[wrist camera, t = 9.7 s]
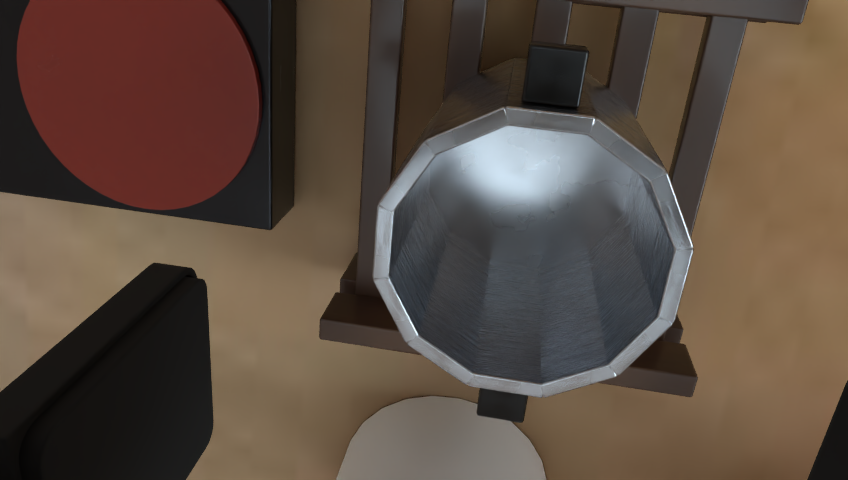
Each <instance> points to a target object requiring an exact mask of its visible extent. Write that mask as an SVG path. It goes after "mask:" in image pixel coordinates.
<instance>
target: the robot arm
mask: <svg viewBox="0 0 848 480" xmlns="http://www.w3.org/2000/svg"><path fill="white" fill-rule="evenodd" d="M212 430H213V403H212V382H211V361H210V340H209V319H208V299H207V286H206V283H205V281H204V280H203V279H198V278H197V276H196V273H195V271H194V270H193V269H192V268H188V267H181V266H174V265H167V264H160V263H153V264H151V265H150V266H148V267H147V268H146V269H145V270H144V271H142V272H141V273H140V274H139V275H138V276H137V277H135V278H134V279H133V280H132V281H131V282H130V283H128V284H127V285H126V286H125V287H124V288H122V289H121V290H120V291H119V292H118V293H117V294H115V295H114V296H113V297H112V298H111V299H109V300H108V301H107V302H106V303H105V304H104V305H102V306H101V307H100V308H99V309H98V310H97V311H95V312H94V313H93V314H92V315H91V316H89V317H88V318H87V319H86V320H85V321H84V322H82V323H81V324H80V325H79V326H78V327H76V328H75V329H74V330H73V331H72V332H71V333H69V334H68V335H67V336H66V337H65V338H64V339H62V340H61V341H60V342H59V343H58V344H56V345H55V346H54V347H53V348H52V349H51V350H49V351H48V352H47V353H46V354H45V355H43V356H42V357H41V358H40V359H39V360H38V361H36V362H35V363H34V364H33V365H32V366H31V367H29V368H28V369H27V370H26V371H25V372H23V373H22V374H21V375H20V376H19V377H18V378H16V379H15V380H14V381H13V382H12V383H10V384H9V385H8V386H7V387H6V388H5V389H3V390H2V391H1V392H0V480H186V478H187V477H188V475H189V474H190V472H191V471H192V469H193V468H194V466H195V464H196V463H197V461H198V460H199V458H200V457H201V455H202V453H203V452H204V450H205V449H206V447H207V445H208V443H209V441H210V438H211V435H212ZM807 480H848V381H847V383H846V385H845V387H844V390H843V392H842V395H841V397H840V400H839V402H838V405H837V407H836V410H835V412H834V415H833V417H832V420H831V422H830V425H829V427H828V430H827V432H826V435H825V437H824V440H823V442H822V445H821V447H820V450H819V452H818V455H817V457H816V460H815V462H814V465H813V467H812V469H811V472H810V474H809V477H808V479H807Z"/></svg>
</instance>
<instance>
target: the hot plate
mask: <svg viewBox="0 0 848 480" xmlns="http://www.w3.org/2000/svg"><path fill="white" fill-rule="evenodd" d="M17 69H18V78H19V83H20V87H21V92H22V95H23V98H24V101H25V105H26V108H27V110H28V112H29V114H30V117H31V119H32V121H33V123H34V125H35V127H36V129H37V130H38V132H39V134H40V136H41V137H42V139H43V140H44V142H45V143H46V145H47V146H48V147H49V149H50V150H51V152H52V153H53V154H54V155H55V156H56V157H57V159H58V160H59V161H60V162H61V163H62V164H63V165H64V166H65V167H66V168H67V169H68V170H69V171H70V172H71V173H72V174H73V175H74V176H76V177H77V178H78V179H80V180H81V181H82V182H84V183H85V184H86V185H88V186H89V187H91V188H92V189H94V190H96V191H97V192H99V193H101V194H102V195H105V196H107V197H109V198H111V199H113V200H115V201H118V202H121V203H124V204H127V205H130V206H134V207H139V208H144V209H154V210H170V209H179V208H184V207H189V206H192V205H195V204H197V203H200V202H203V201H205V200H207V199H208V198H210V197H212V196H214V195H216V194H217V193H218V192H220V191H221V190H222V189H224V188H225V187H226V186H228V185H229V184H230V183H231V182H232V181H233V180H234V179H235V178H236V177H237V176H238V174H239V173H240V172H241V170H242V169H243V167H244V166H245V165H246V163H247V161H248V159H249V158H250V156H251V154H252V152H253V150H254V147H255V144H256V141H257V138H258V135H259V129H260V124H261V117H262V92H261V83H260V78H259V73H258V68H257V65H256V62H255V59H254V55H253V52H252V50H251V48H250V46H249V43H248V41H247V39H246V37H245V35H244V33H243V31H242V29H241V28H240V26H239V24H238V23H237V21H236V19H235V18H234V17H233V15H232V14H231V13H230V11H229V10H228V9H227V7H226V6H225V5H224V3H223V2H222V1H221V0H30V1H29V4H28V6H27V8H26V10H25V12H24V15H23V18H22V21H21V25H20V29H19V35H18V41H17Z"/></svg>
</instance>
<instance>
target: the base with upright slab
mask: <svg viewBox="0 0 848 480" xmlns="http://www.w3.org/2000/svg"><path fill="white" fill-rule="evenodd" d="M476 412H477V404H475V403H472V402H469V401H466V400H463V399H459V398H449V397H439V396H427V397H419V398H411V399H405V400H402V401H400V402H397V403H394V404H392V405H389V406H387V407H384V408H382V409H380V410H379V411H378V412H376V413H375V414H374V415H372V416H371V417H370V418H368V419H367V420H366V421H364V422H363V424H362V425H361V426H360V428H359V429H358V431H357V432H356V433H355V435H354V436H353V438H352V439H351V441H350V444H349V446H348V449H347V452H346V454H345V457H344V460H343V462H342V465H341V468H340V470H339V473H338V476H337V478H336V480H546V476H545V472H544V468H543V463H542V460H541V458H540V457H539V455H538V453H537V451H536V450H535V448H534V446H533V445H532V443H531V441H530V440H529V439H528V438H527V437H526V436H525V435H524V434H523V433H522V432H521V431H520V430H519V429H518V428H517V427H516V426H515V425H514V424H513V423H512V422H511V421H507V420H501V419H495V418H489V417H483V416H478V415H477V413H476Z"/></svg>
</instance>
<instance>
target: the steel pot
mask: <svg viewBox="0 0 848 480" xmlns="http://www.w3.org/2000/svg"><path fill="white" fill-rule="evenodd" d="M588 57H589V50H588V49H587V47H585V46H577V45H568V44H559V43H550V42H541V41H531V42H530V44H529V49H528V56H527V59H525V58H515V59H514V58H512V59H510V60H507V61H505V62H503V63H501V64H498V65H496V66H494V67H492V68H489V69H487V70H485V71H483V72H480V73H478V74H476V75H473V76H471V77H469V78H467V79H464V80H462V81H460V82H459V83H458V84H456V86H455V87H454V88H453V90H452V91H451V93H450V94H449V95H448V97H447V98H446V100H445V101H444V102H443V104H442V105H441V106H440V108H439V109H438V111H437V112H436V113H435V115H434V116H433V118H432V119H431V120H430V122H429V123H428V124H427V126H426V127H425V129H424V130H423V132H422V133H421V135H420V137H419V138H418V140H417V141H416V143H415V145H414V146H413V148H412V149H411V151H410V153H409V154H408V156H407V158H406V159H405V161H404V162H403V164H402V166H401V167H400V169H399V170H398V172H397V174H396V175H395V177H394V178H393V180H392V182H391V183H390V185H389V186H388V188H387V190H386V191H385V193H384V194H383V196H382V198H381V199H380V201H379V202H378V206H377V212H376V227H375V243H374V258H373V274H372V277H373V278H374V279H373V281H374V283H375V285H376V287H377V289H378V291H379V293H380V294H381V296H382V298H383V300H384V302H385V304H386V306H387V308H388V310H389V312H390V314H391V316H392V318H393V319H394V321H395V323H396V325H397V327H398V329H399V331H400V333H401V335H402V337H403V339H404V341H405V342H407V344H408V345H409V346H410V347H412V348H413V349H415V350H416V351H418V352H419V353H420V354H422V355H423V356H425V357H426V358H428V359H429V360H431V361H432V362H433V363H435V364H436V365H438V366H439V367H441V368H442V369H444V370H445V371H447V372H448V373H449V374H451V375H452V376H454V377H455V378H457V379H458V380H460V381H461V382H463V383H464V384H465V385H469V386H471V387H477V388H480V390H479V397H478V404H477V412H476V413H477V415H478V416H483V417H489V418H495V419H501V420H507V421H513V422H519V423H522V422H523V421H524V416H525V410H526V405H527V399H528V396H533V397H540V398H542V397H549V396H552V395H556V394H559V393H563V392H566V391H570V390H573V389H577V388H580V387H584V386H587V385H591V384H594V383H597V382H601V381H604V380H608V379H611V378H615V377H617V375H618V376H619V375H620V374H621V373H622V372H623V371H624V370H625V369H626V368H628V367H629V366H630V365H631V364H632V363H633V362H634V361H635V360H636V359H637V358H638V357H639V356H640V355H641V354H642V353H643V352H644V351H645V350H646V349H648V348H649V347H650V346H651V345H652V344H653V343H654V342H655V341H656V340H657V339H658V338H659V337H660V336H661V335H662V334H663V333H664V332H665V331H667V330H668V329H669V328H670V327H671V326H672V324H673V322H674V321H675V318H676V315H677V311H678V307H679V303H680V300H681V296H682V292H683V289H684V285H685V281H686V277H687V274H688V270H689V266H690V262H691V259H692V255H693V251H694V249H693V242H692V239H691V237H690V234H689V231H688V228H687V225H686V222H685V220H684V217H683V214H682V211H681V208H680V205H679V203H678V200H677V197H676V194H675V191H674V188H673V186H672V183H671V180H670V177H669V174H668V172H667V170H666V169H665V167H664V165H663V164H662V162H661V160H660V159H659V157H658V155H657V154H656V152H655V150H654V149H653V147H652V145H651V143H650V142H649V140H648V138H647V137H646V135H645V133H644V132H643V130H642V128H641V127H640V125H639V123H638V122H637V120H636V118H635V117H634V115H633V113H632V112H631V110H630V108H629V107H628V105H627V103H626V102H625V101H624V100H623V99H622V98H620V97H619V96H618V95H617V94H615V93H614V92H613V91H611V90H610V89H609V88H607V87H606V86H605V85H604V84H602V83H601V82H600V81H598V80H597V79H596V78H594V77H593V76H592V75H591V74H589V73H588V72H587V71H586V68H587V63H588Z"/></svg>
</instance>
